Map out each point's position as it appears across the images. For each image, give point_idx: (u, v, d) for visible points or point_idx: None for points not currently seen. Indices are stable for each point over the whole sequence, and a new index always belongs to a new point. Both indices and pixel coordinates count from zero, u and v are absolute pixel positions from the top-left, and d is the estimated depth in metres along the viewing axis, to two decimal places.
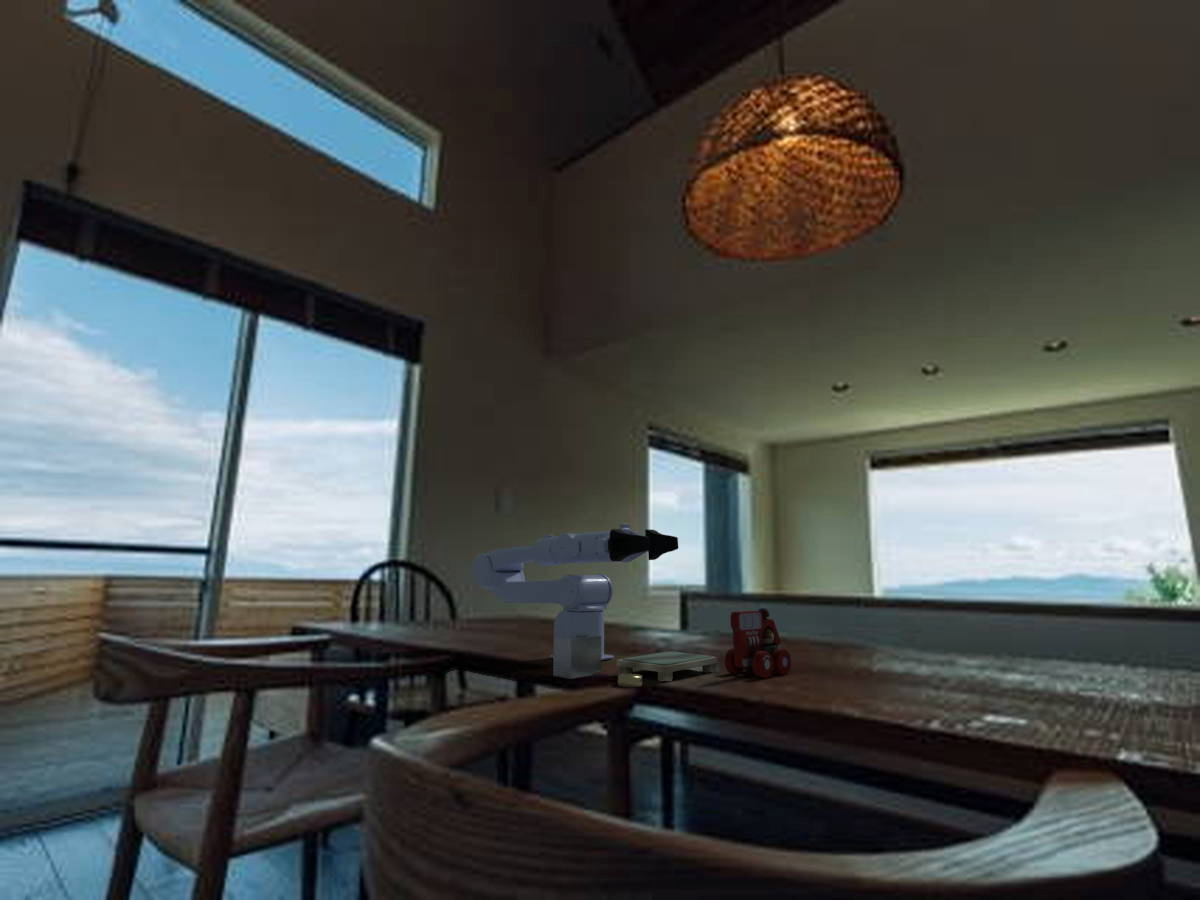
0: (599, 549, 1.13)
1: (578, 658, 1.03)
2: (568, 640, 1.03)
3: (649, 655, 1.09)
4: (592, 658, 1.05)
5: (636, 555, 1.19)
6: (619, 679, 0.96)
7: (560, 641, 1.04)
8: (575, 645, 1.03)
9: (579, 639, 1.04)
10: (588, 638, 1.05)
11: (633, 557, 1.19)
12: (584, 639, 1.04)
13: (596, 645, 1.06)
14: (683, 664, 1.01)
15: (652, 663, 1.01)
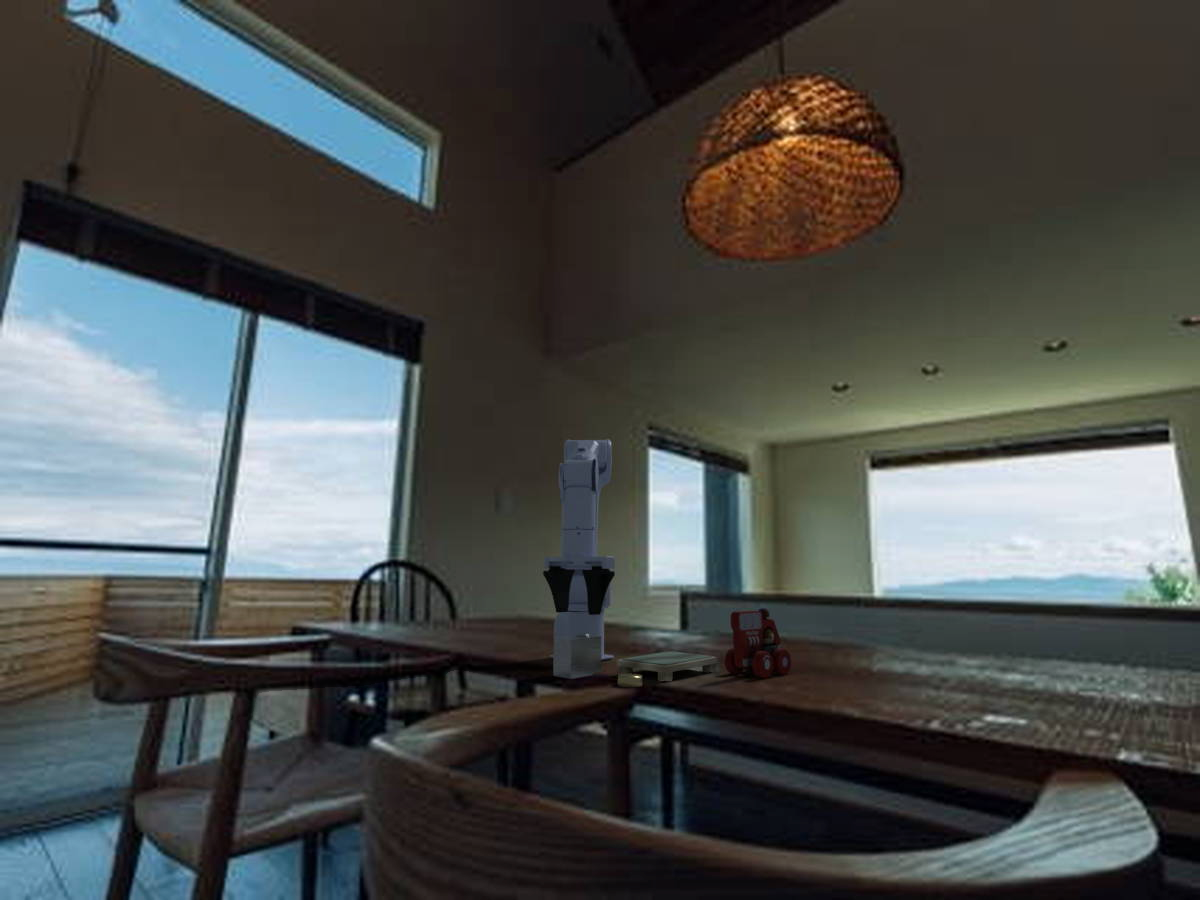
0: None
1: (578, 658, 1.03)
2: (568, 640, 1.02)
3: (649, 655, 1.09)
4: (592, 658, 1.05)
5: None
6: (619, 679, 0.96)
7: (560, 641, 1.04)
8: (575, 645, 1.03)
9: (579, 639, 1.04)
10: (588, 638, 1.05)
11: None
12: (584, 639, 1.04)
13: (596, 645, 1.06)
14: (683, 664, 1.01)
15: (652, 663, 1.01)
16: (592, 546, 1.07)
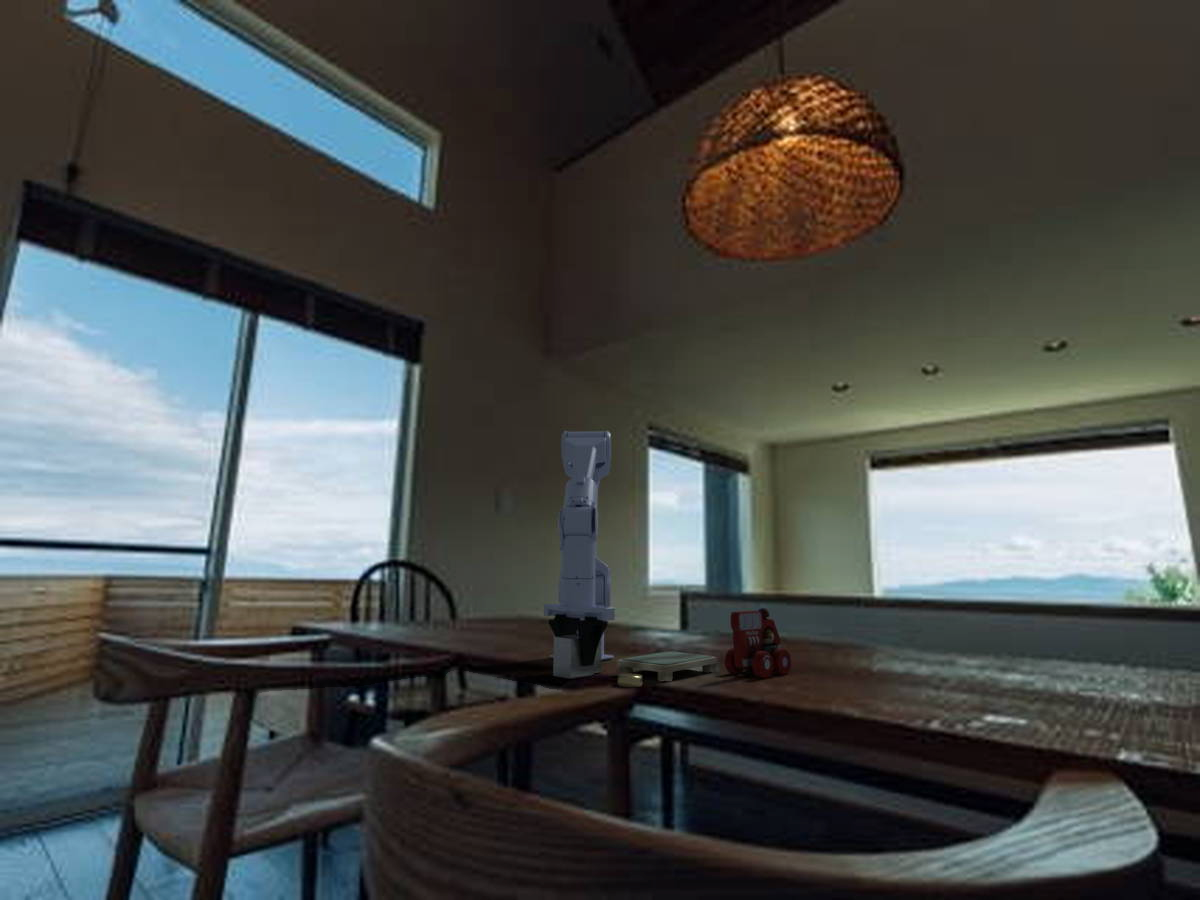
0: None
1: (578, 658, 1.03)
2: (568, 639, 1.03)
3: (649, 655, 1.09)
4: None
5: None
6: (619, 679, 0.96)
7: (560, 640, 1.04)
8: (575, 644, 1.03)
9: None
10: None
11: None
12: None
13: None
14: (683, 664, 1.01)
15: (652, 663, 1.01)
16: (592, 596, 1.06)
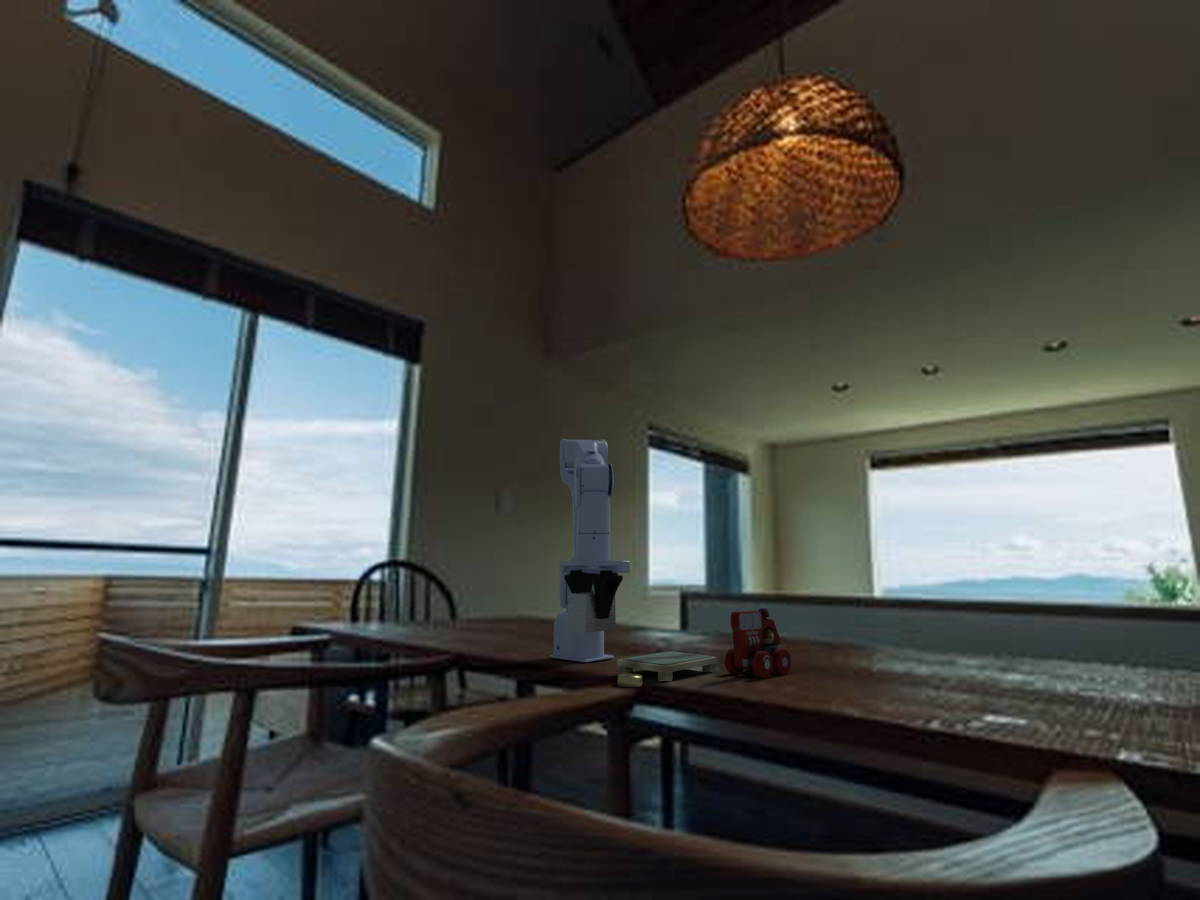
0: None
1: (593, 613, 1.04)
2: (583, 595, 1.04)
3: (649, 655, 1.09)
4: None
5: None
6: (619, 679, 0.96)
7: (575, 596, 1.05)
8: (590, 599, 1.04)
9: (593, 594, 1.05)
10: None
11: None
12: None
13: None
14: (683, 664, 1.01)
15: (652, 663, 1.01)
16: (607, 550, 1.07)
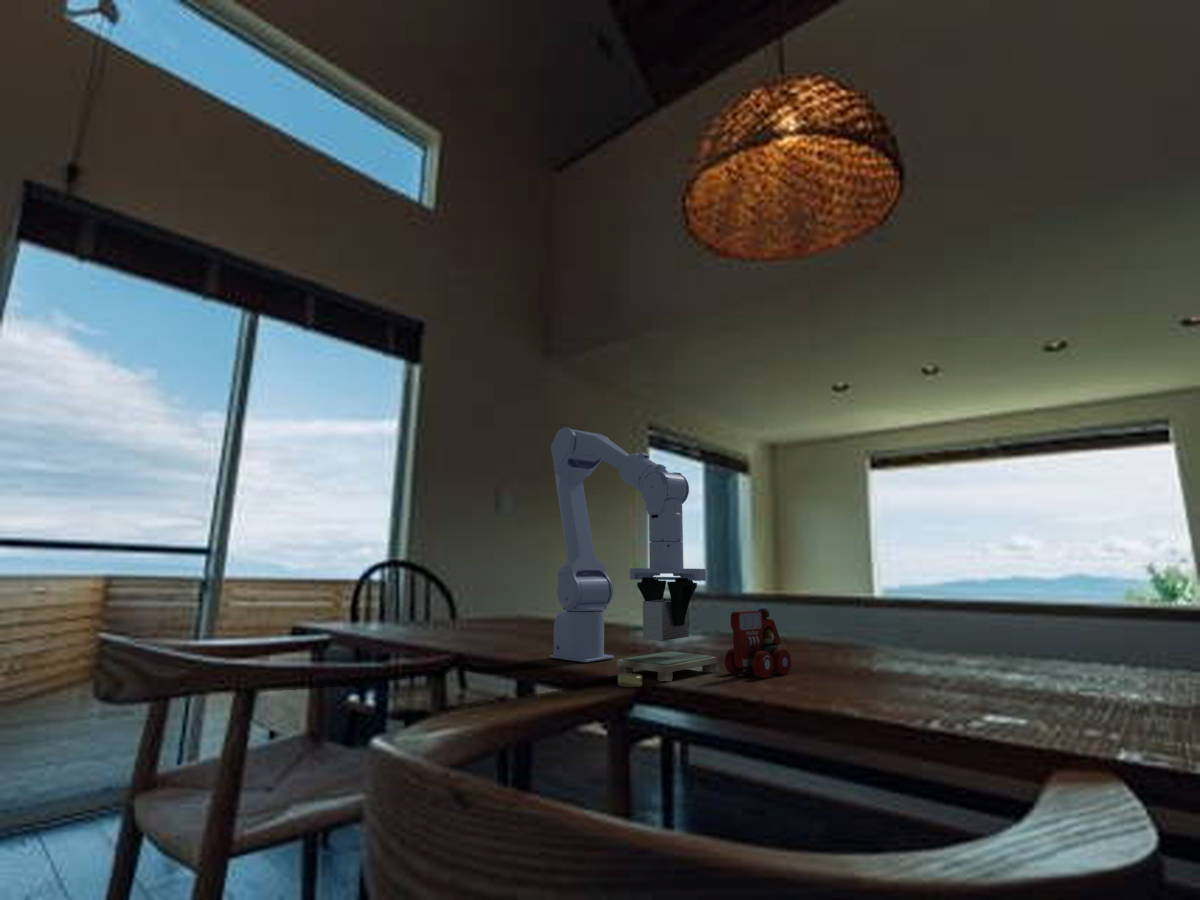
0: None
1: (668, 621, 1.05)
2: (658, 603, 1.04)
3: (649, 655, 1.09)
4: None
5: None
6: (619, 679, 0.96)
7: (650, 604, 1.06)
8: (665, 607, 1.05)
9: (668, 602, 1.05)
10: None
11: None
12: None
13: None
14: (683, 664, 1.01)
15: (652, 663, 1.01)
16: (681, 558, 1.08)
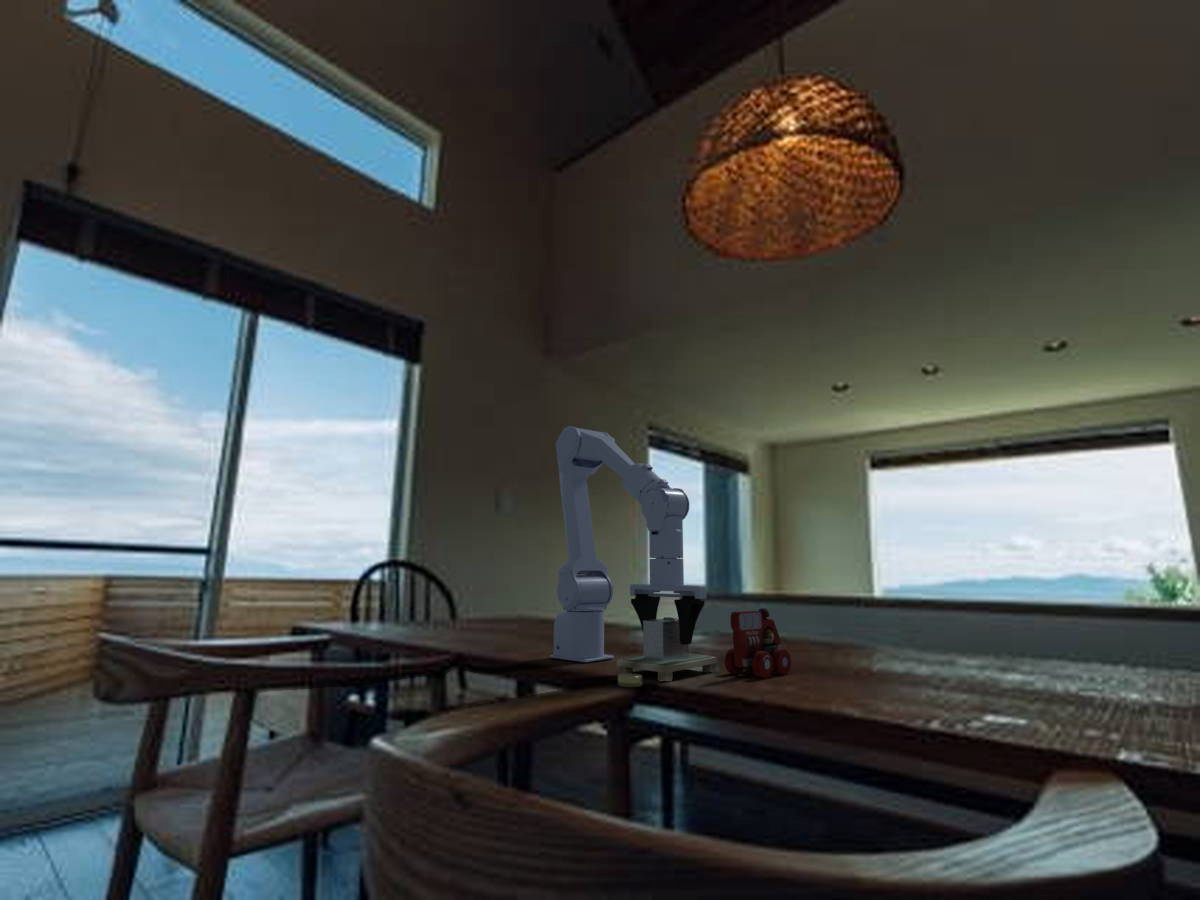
0: None
1: (669, 641, 1.04)
2: (659, 623, 1.04)
3: None
4: None
5: None
6: (619, 679, 0.96)
7: (650, 623, 1.05)
8: (666, 627, 1.04)
9: (669, 622, 1.05)
10: (677, 621, 1.06)
11: None
12: (674, 622, 1.06)
13: None
14: (683, 664, 1.01)
15: (652, 663, 1.01)
16: (681, 575, 1.07)
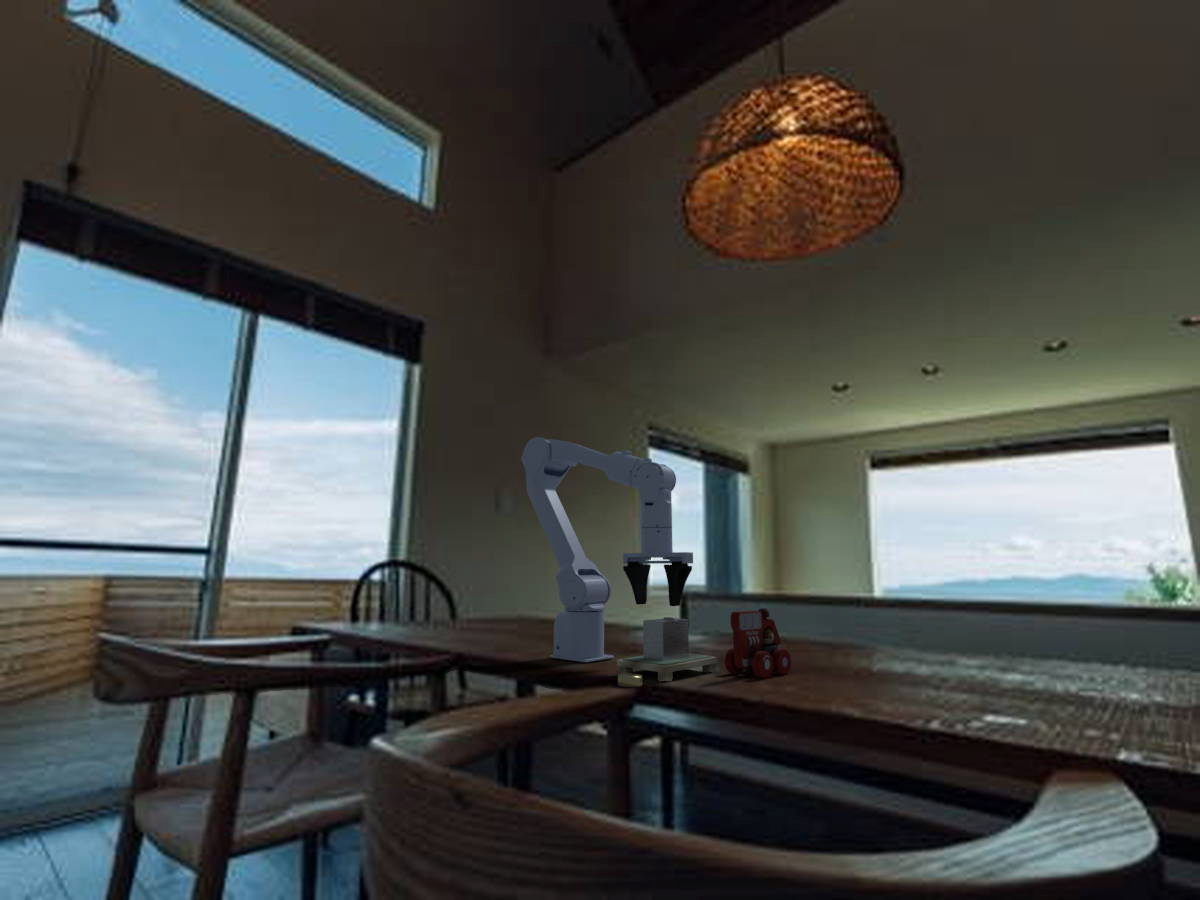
0: None
1: (669, 641, 1.04)
2: (659, 623, 1.04)
3: None
4: (680, 641, 1.06)
5: None
6: (619, 679, 0.96)
7: (650, 623, 1.05)
8: (666, 627, 1.04)
9: (669, 622, 1.05)
10: (677, 621, 1.06)
11: None
12: (674, 622, 1.06)
13: (684, 628, 1.08)
14: (683, 664, 1.01)
15: (652, 663, 1.01)
16: (670, 543, 1.16)
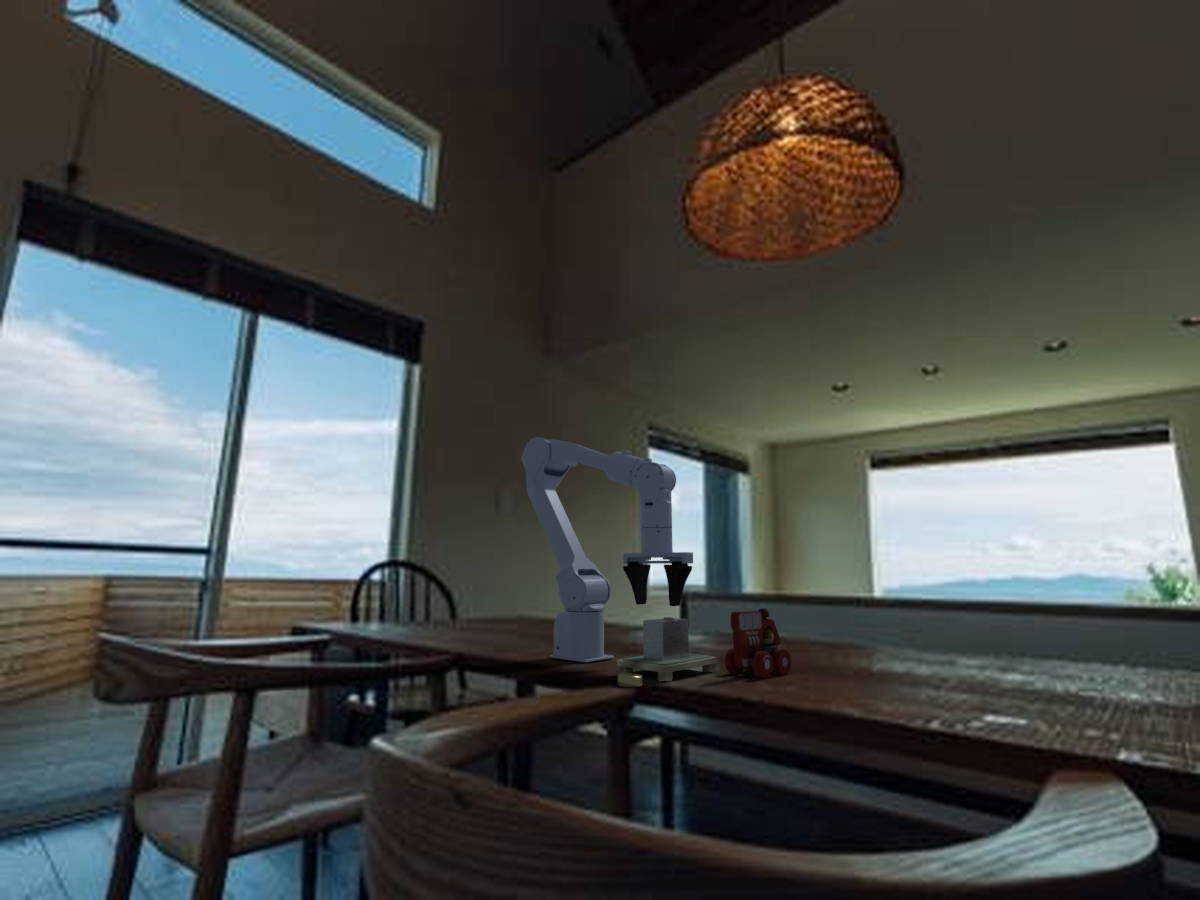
0: None
1: (669, 641, 1.04)
2: (659, 623, 1.04)
3: None
4: (680, 641, 1.06)
5: None
6: (619, 679, 0.96)
7: (650, 623, 1.05)
8: (666, 627, 1.04)
9: (669, 622, 1.05)
10: (677, 621, 1.06)
11: None
12: (674, 622, 1.06)
13: (684, 628, 1.08)
14: (683, 664, 1.01)
15: (652, 663, 1.01)
16: (670, 543, 1.16)
